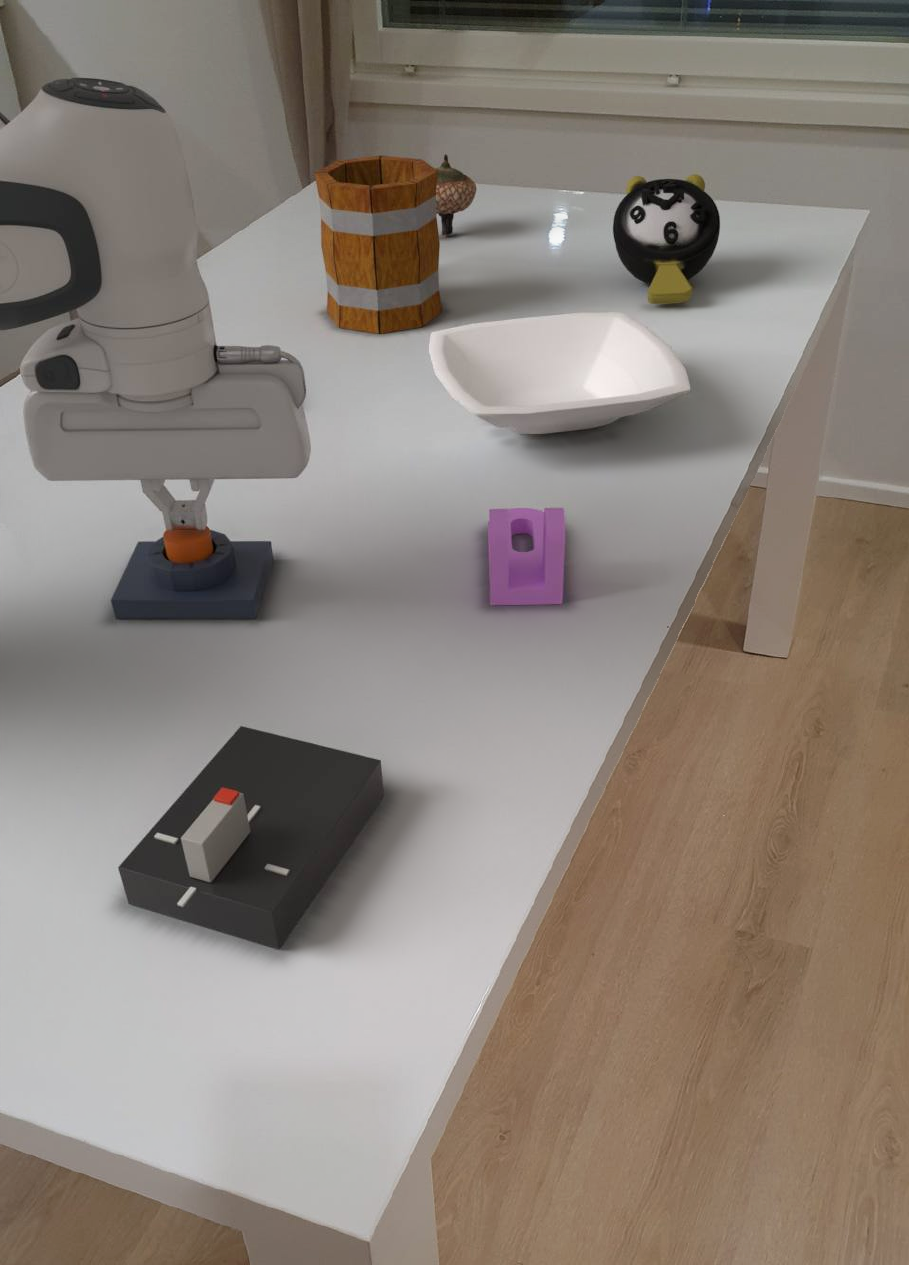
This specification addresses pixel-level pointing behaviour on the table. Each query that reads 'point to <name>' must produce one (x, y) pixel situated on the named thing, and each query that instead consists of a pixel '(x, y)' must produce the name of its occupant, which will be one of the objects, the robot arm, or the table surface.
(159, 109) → the robot arm
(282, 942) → the panel
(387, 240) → the wooden barrel
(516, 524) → the bracket
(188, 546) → the power button
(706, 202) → the alarm clock
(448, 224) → the acorn
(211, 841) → the red-topped grey block
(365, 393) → the table surface
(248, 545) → the control block
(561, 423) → the bowl
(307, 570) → the table surface
